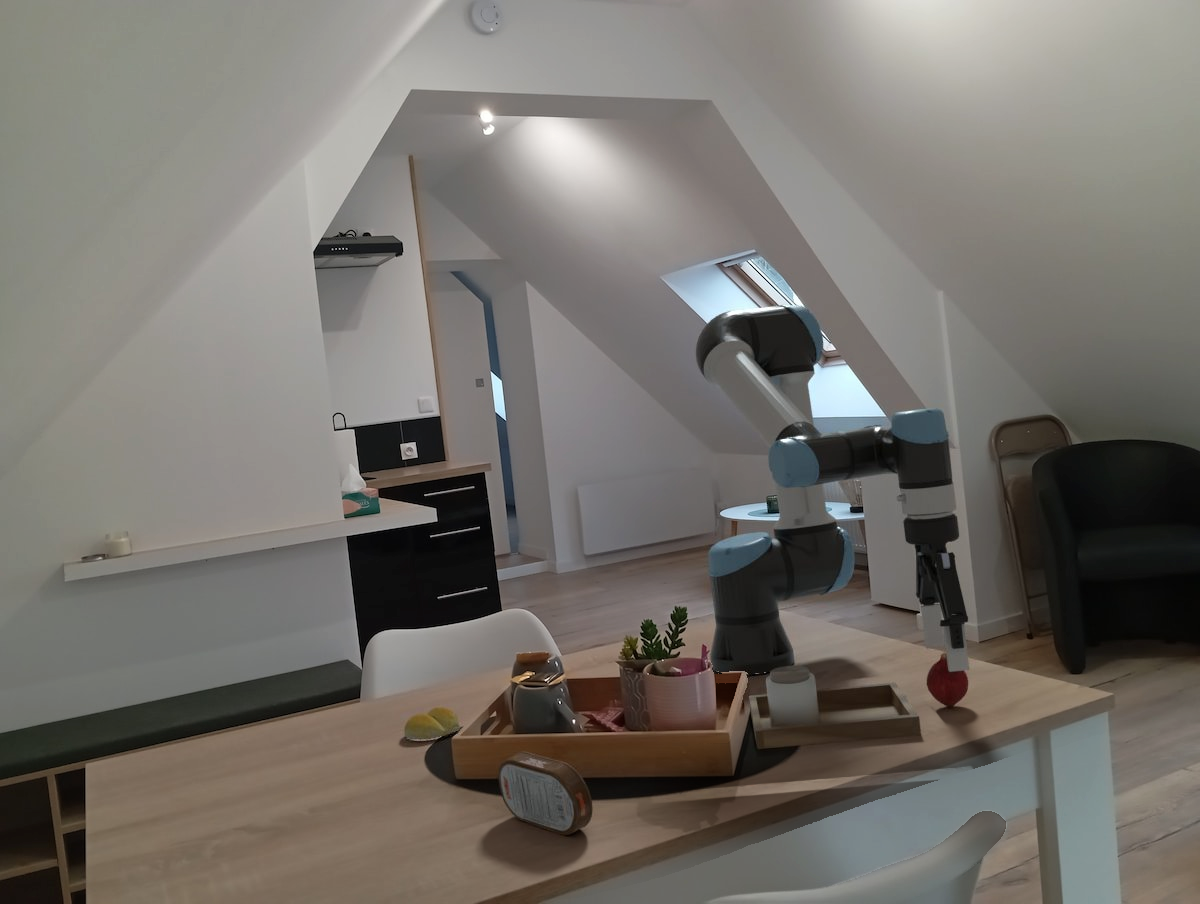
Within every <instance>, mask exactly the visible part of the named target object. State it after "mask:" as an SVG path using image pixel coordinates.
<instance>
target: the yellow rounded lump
mask: <svg viewBox="0 0 1200 904" xmlns="http://www.w3.org/2000/svg"><path fill="white" fill-rule="evenodd" d="M460 726H462V725H461V723H460V721H459V718H458V716H457V714H456V713H455V712H454V711H453V710H452V709H450V708H448V707H441V706H440V707H435V708H434V707H433V708H432V709H430V710H429V711H427V713H419V714H415V715H412V716H411V717H410V718H409V719H408V720H407V721H406V723H405V726H404V730H403V731H404V735H405V738H406V737H407V738H409V739H420V740H421V739H431V738H436V737H440V736H444V735H446V734H450V733H452V732H456V731H457V732H458V731H460V729H461V727H460ZM457 732H456V733H457ZM444 737H445V736H444ZM407 738H406V739H407Z"/></svg>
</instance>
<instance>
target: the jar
mask: <svg viewBox="0 0 1200 904" xmlns="http://www.w3.org/2000/svg"><path fill="white" fill-rule="evenodd" d="M815 676H816V675H815V674H813V673H812V672H810V669H809V668H808V667H806V666H803V665H790V666H784V667H779V668H775V669H773V670H771V671H770V673H769V675H768V676H766V678H765V685H766V687H765V688H766V694H767V696H768V705H769V713H770V722H771V727H778V726H789V725H800V724H811V723H820V718H819V709H818V701H817V692H816V690H817V685H816V684H817V683H816V677H815Z"/></svg>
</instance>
